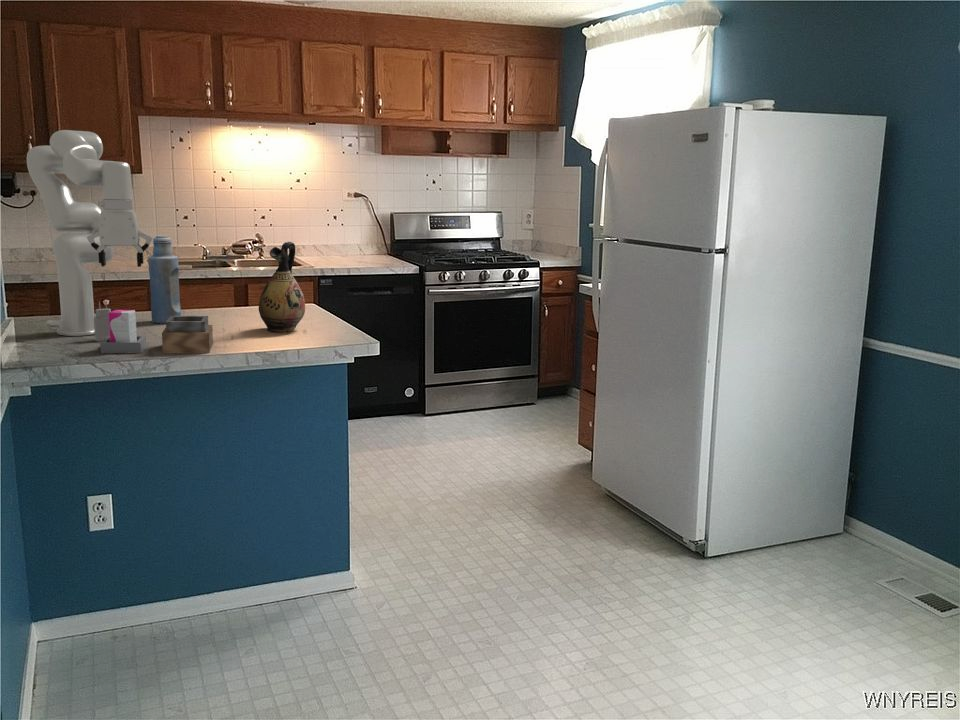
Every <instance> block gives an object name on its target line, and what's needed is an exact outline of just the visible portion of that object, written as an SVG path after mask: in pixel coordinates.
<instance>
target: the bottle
mask: <svg viewBox="0 0 960 720" xmlns="http://www.w3.org/2000/svg"><path fill="white" fill-rule="evenodd" d="M152 241H153V242H152V243H153V246H152V247H153V249H152V255H149V256H148V259H147V261H148V274H149V284H150V285H149V286H150V305H151V307H150V311H151V312H150V313H151V322H152V323H153V322H154V324H157V323H160V324H159V325H166V321H167V320H168V319H169V317H170V316H182V311H181V301H180V281H179V280H180V279H179V277H180V276H179V272H180V271H179V270H180V269H179V268H180V267H179V256H176V255H174V253H173V252H174V251H173V246H172V238H171V237H169V236H168V235H155V237H154V238H152Z"/></svg>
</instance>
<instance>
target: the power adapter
mask: <svg viewBox="0 0 960 720" xmlns="http://www.w3.org/2000/svg"><path fill="white" fill-rule="evenodd" d="M98 306H99V307H98V308H96V309H95V316H94V330H95V334H94V340H95V341H96V342H102V341H103V340H104V339H105V338H106V337H107V336H110V327H109V312H112V309H111V308H108V305H107V301H105V308H101V302H100V301H98Z"/></svg>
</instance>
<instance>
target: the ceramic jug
mask: <svg viewBox="0 0 960 720" xmlns="http://www.w3.org/2000/svg"><path fill="white" fill-rule="evenodd" d="M269 256H270V258H272V259H274V260H275V261H277V262H278V267H277V269H276V270H275V272H274V273H273V274H272V276H271V277H270V278H269V280H268V281H267V283H266V285H265V286H264V287H263V290H262V291H261V293H260V297H259V302H258V314H259V316H260V319H261V320H262V322H263V323H264V325H265V326H266V327H267V328H266V331H268V332H270V331H273V332H272V333H287V332H286V331H290V332H293V331H292V330H294V329H295V330H296V327H297V325H298V324H299V323H300V322H301V320H302V319H303V318H304V316H305V312H306V301H305V297H304V293H303V291H302V289H301V287H300V286H299V283H298V281H297V279H295V277H294V276H293V266H294V262H295V257H296V244H295V243H294V242H292V241H287V242H284V243H283V244H282V245H281V248H279V247H277V246H274V247H272V248H271V249H270V251H269ZM295 330H294V331H295Z"/></svg>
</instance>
